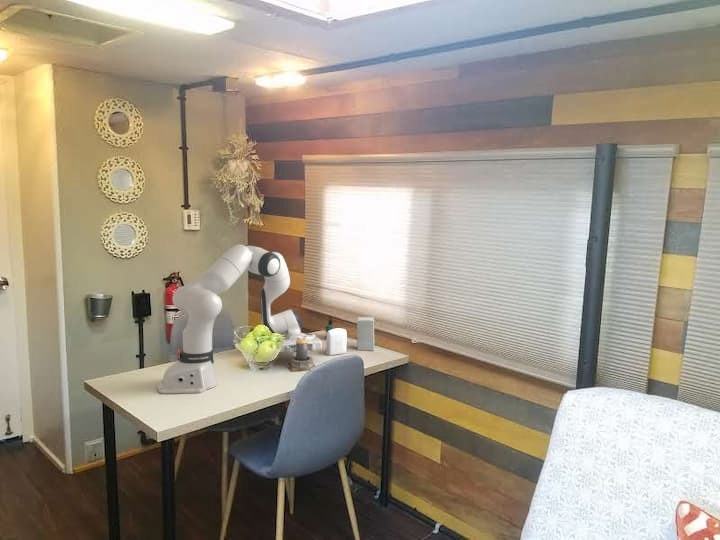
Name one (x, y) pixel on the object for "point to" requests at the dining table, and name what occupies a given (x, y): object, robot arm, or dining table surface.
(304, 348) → the charcoal canister
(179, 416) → the dining table surface
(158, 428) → the dining table surface
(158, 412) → the dining table surface
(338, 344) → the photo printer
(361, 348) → the skincare box
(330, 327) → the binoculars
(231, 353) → the dining table surface
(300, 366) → the ring socket
